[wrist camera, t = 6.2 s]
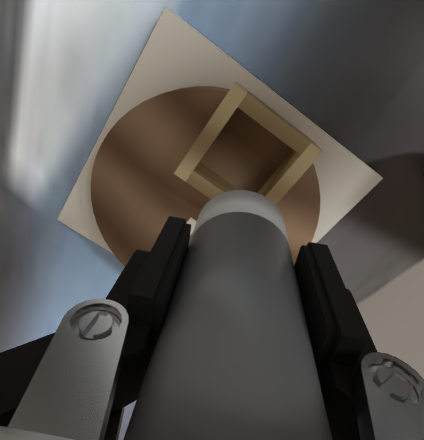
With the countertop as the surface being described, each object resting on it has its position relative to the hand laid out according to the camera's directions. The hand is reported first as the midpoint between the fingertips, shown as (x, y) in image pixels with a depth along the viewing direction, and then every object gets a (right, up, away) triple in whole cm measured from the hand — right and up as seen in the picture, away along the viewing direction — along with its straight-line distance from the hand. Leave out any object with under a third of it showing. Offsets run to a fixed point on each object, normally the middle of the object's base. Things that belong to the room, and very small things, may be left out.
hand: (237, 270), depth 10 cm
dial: (-1, +3, +18) cm, 18 cm away
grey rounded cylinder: (0, +1, +2) cm, 3 cm away
